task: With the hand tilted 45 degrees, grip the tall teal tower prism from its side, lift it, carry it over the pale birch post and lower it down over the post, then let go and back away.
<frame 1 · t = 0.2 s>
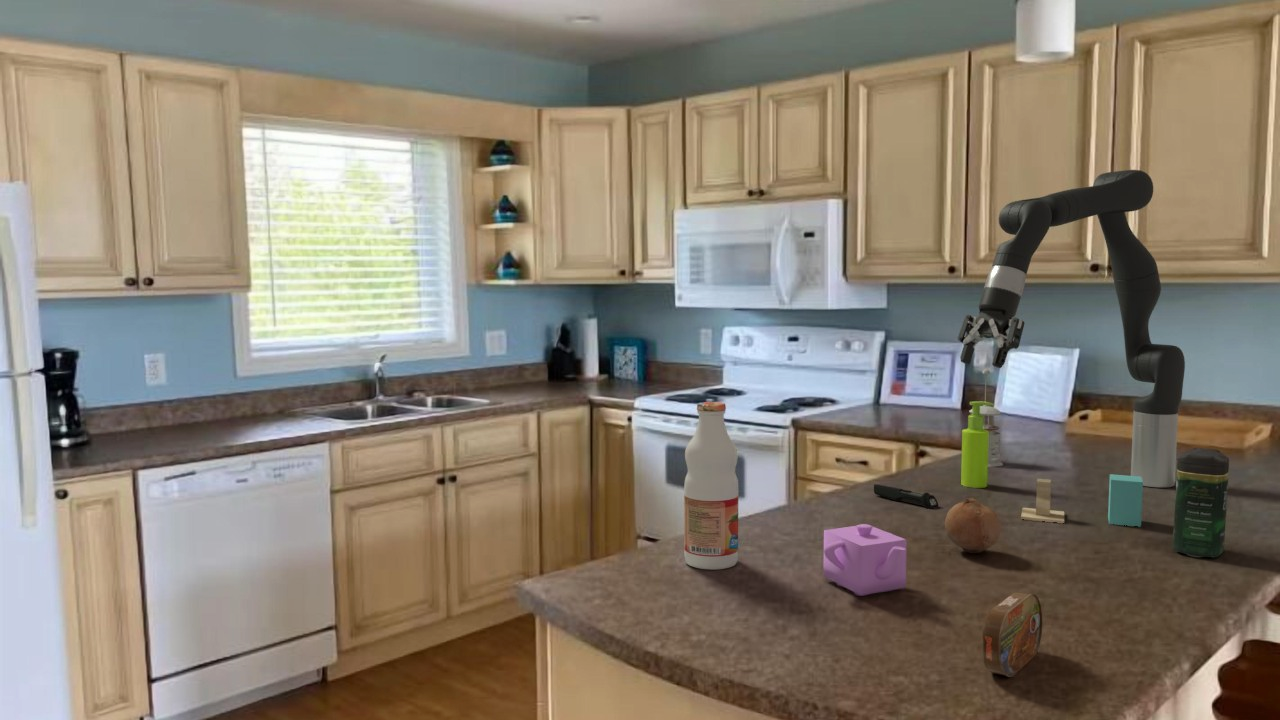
hand: (980, 364, 193), 31 cm above the worktop, tool tilted 20°, fingers open, 8 cm apart
post: (1042, 516, 191), on the worktop
soap dispenser: (976, 486, 220), on the worktop
french press: (983, 463, 246), on the worktop
teapot: (863, 590, 148), on the worktop
electric trimmer: (904, 503, 204), on the worktop
tin: (1011, 665, 119), on the worktop
fruit juice: (711, 563, 162), on the worktop
teal tower prism: (1124, 522, 186), on the worktop
coffee jar: (1198, 552, 166), on the worktop
onion: (971, 554, 166), on the worktop
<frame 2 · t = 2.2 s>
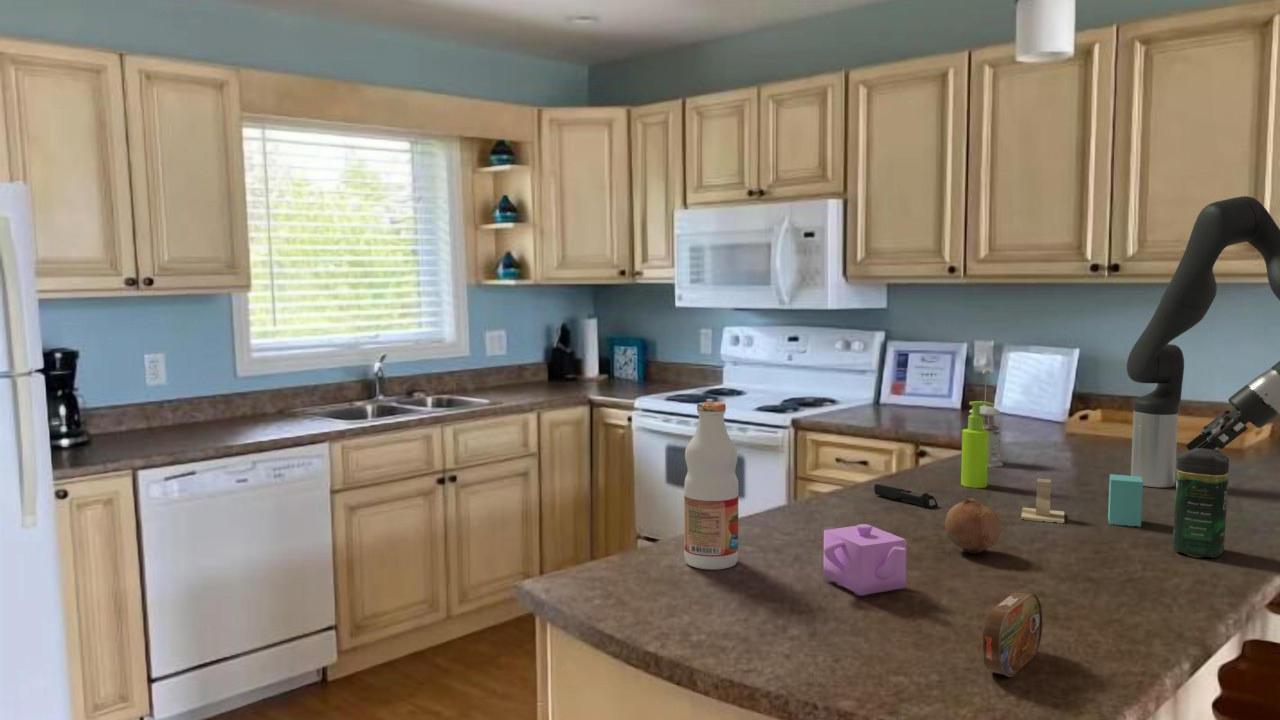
hand: (1191, 453, 180), 15 cm above the worktop, tool tilted 45°, fingers open, 8 cm apart
nothing on the worktop moved.
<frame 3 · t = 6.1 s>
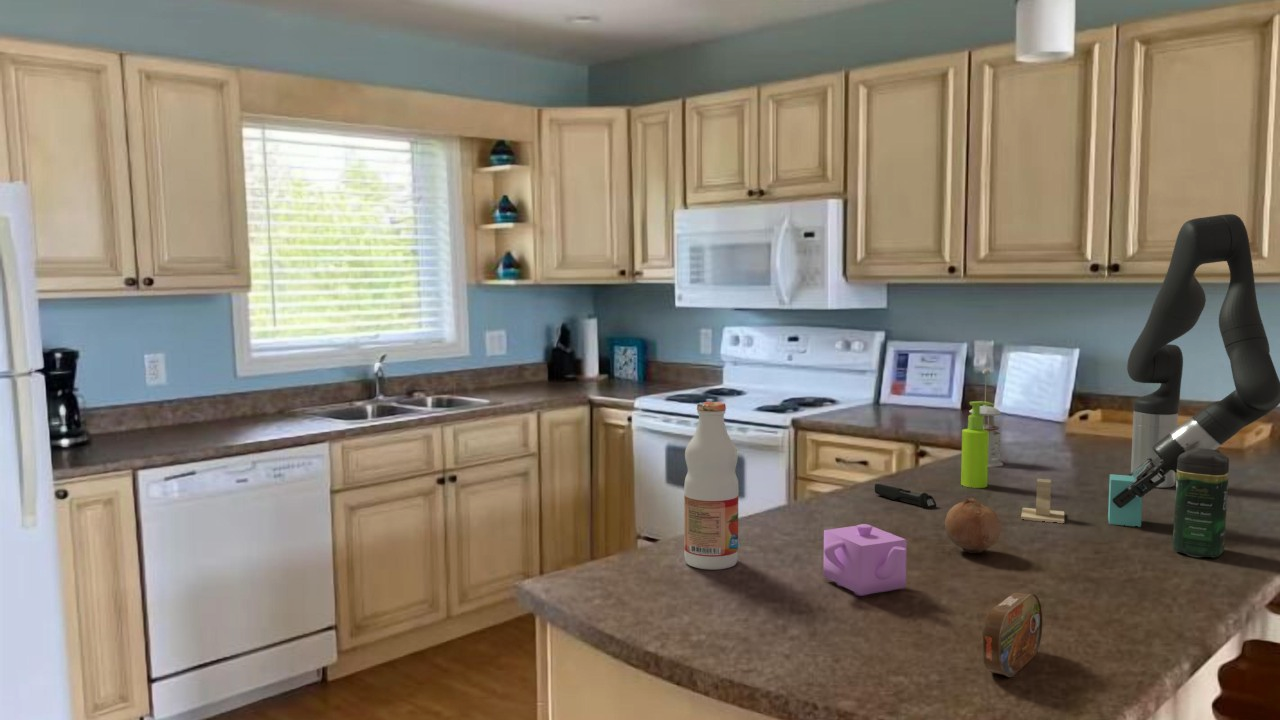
hand: (1115, 500, 187), 4 cm above the worktop, tool tilted 45°, fingers closed on teal tower prism, 5 cm apart
teal tower prism: (1124, 522, 186), on the worktop, touching gripper
everything else where it was.
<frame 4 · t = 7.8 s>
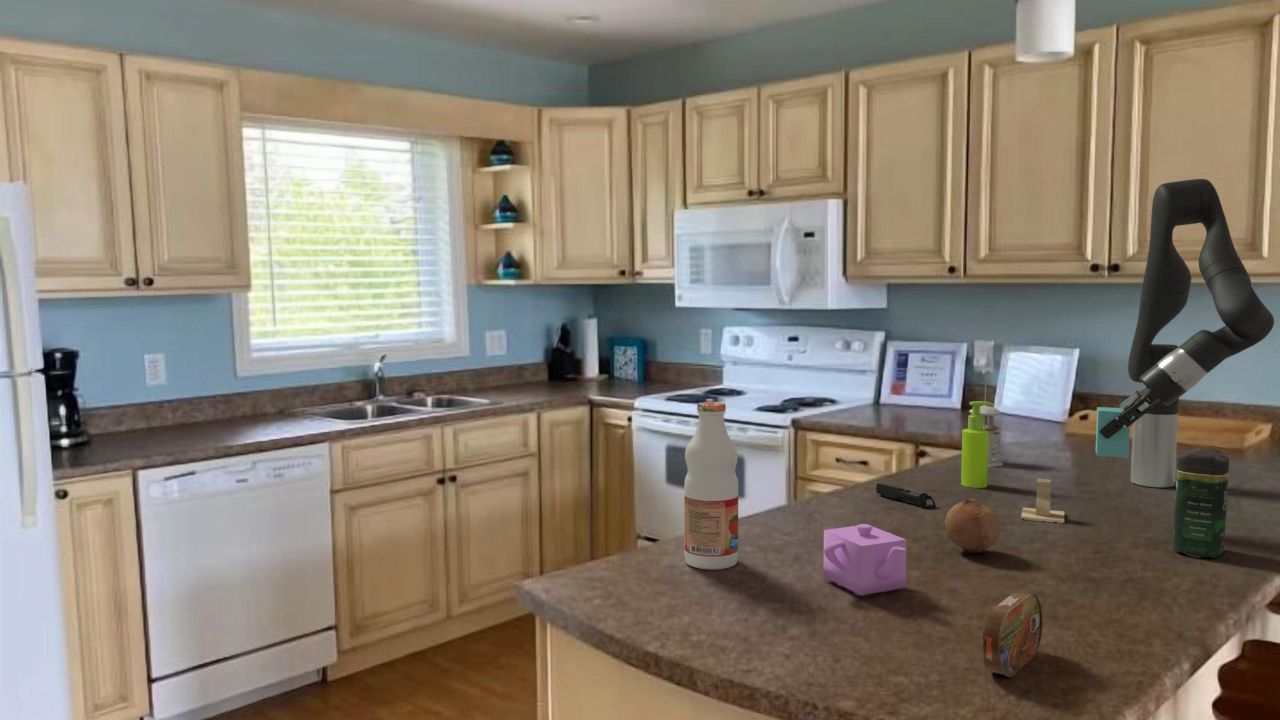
hand: (1102, 432, 186), 18 cm above the worktop, tool tilted 45°, fingers closed on teal tower prism, 5 cm apart
teal tower prism: (1111, 454, 186), point 14 cm above the worktop, touching gripper
everything else where it was.
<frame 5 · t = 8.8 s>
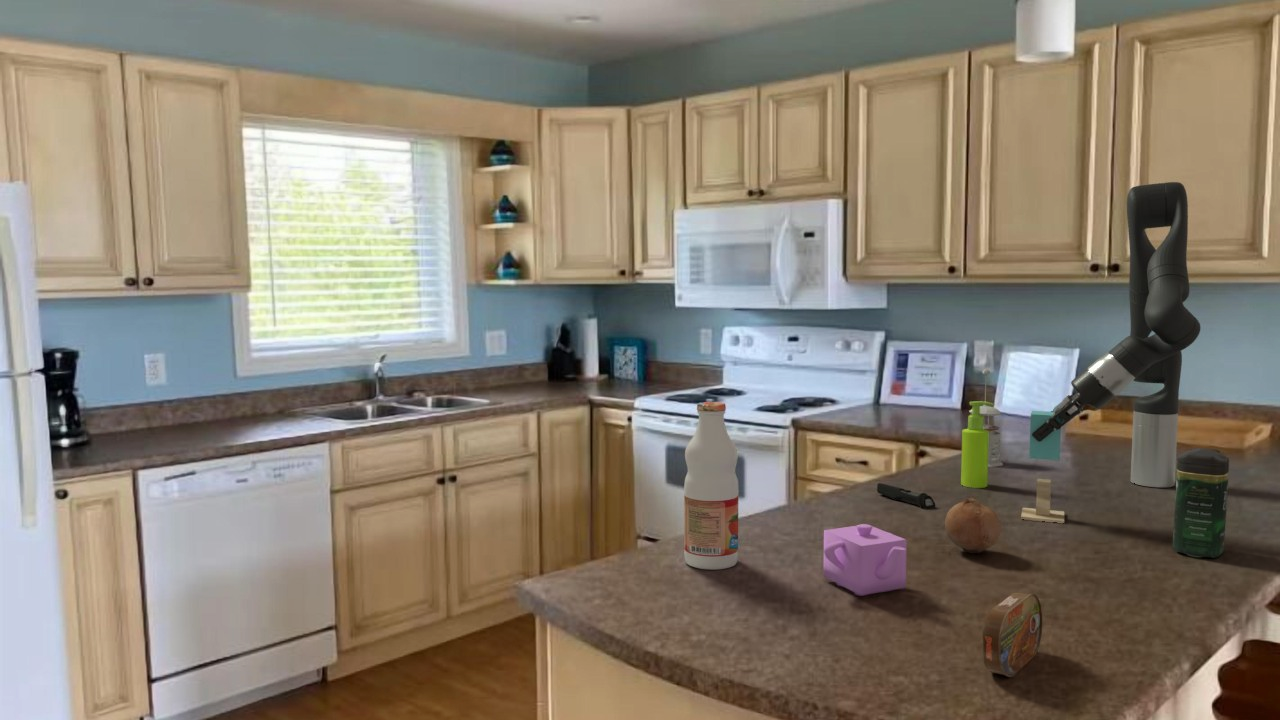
hand: (1036, 435, 190), 17 cm above the worktop, tool tilted 45°, fingers closed on teal tower prism, 5 cm apart
teal tower prism: (1044, 456, 189), point 13 cm above the worktop, touching gripper
everything else where it was.
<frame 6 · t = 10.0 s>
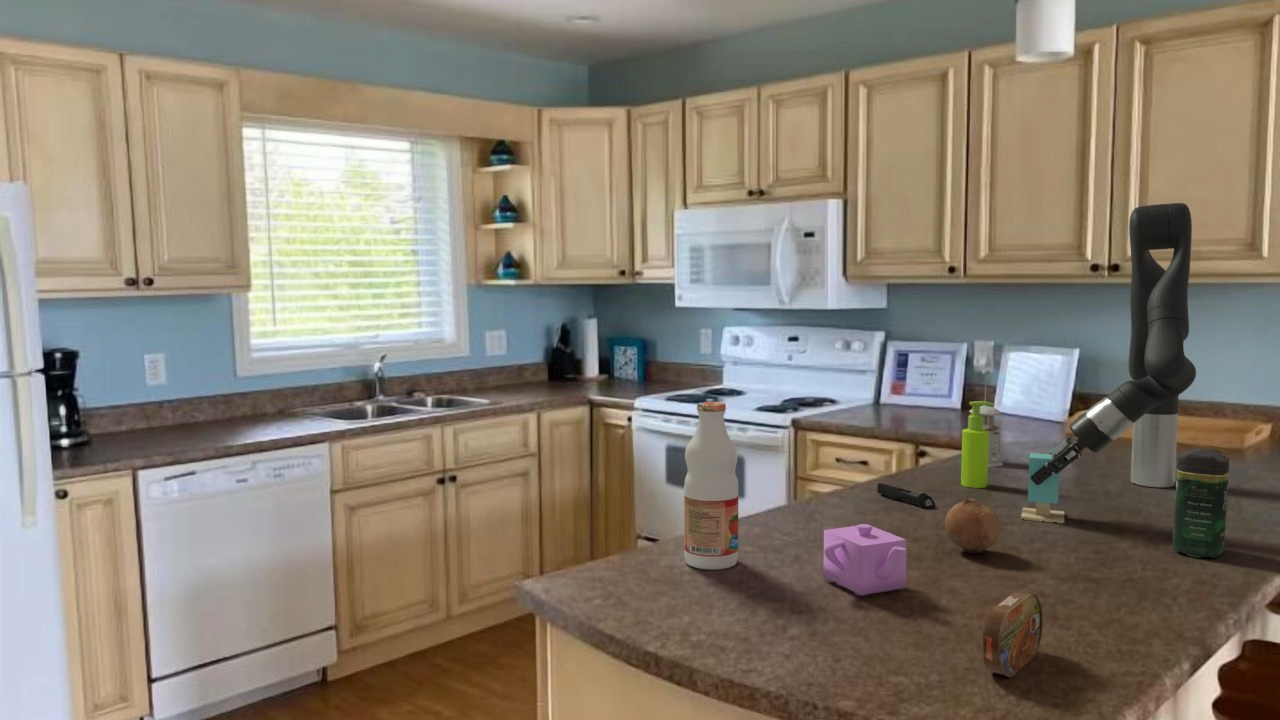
hand: (1034, 478, 191), 8 cm above the worktop, tool tilted 45°, fingers closed on teal tower prism, 5 cm apart
teal tower prism: (1043, 499, 190), point 4 cm above the worktop, touching gripper
everything else where it was.
when the fingers open (6 cm above the worktop, at t = 10.8 s): teal tower prism drops 1 cm, resting on post.
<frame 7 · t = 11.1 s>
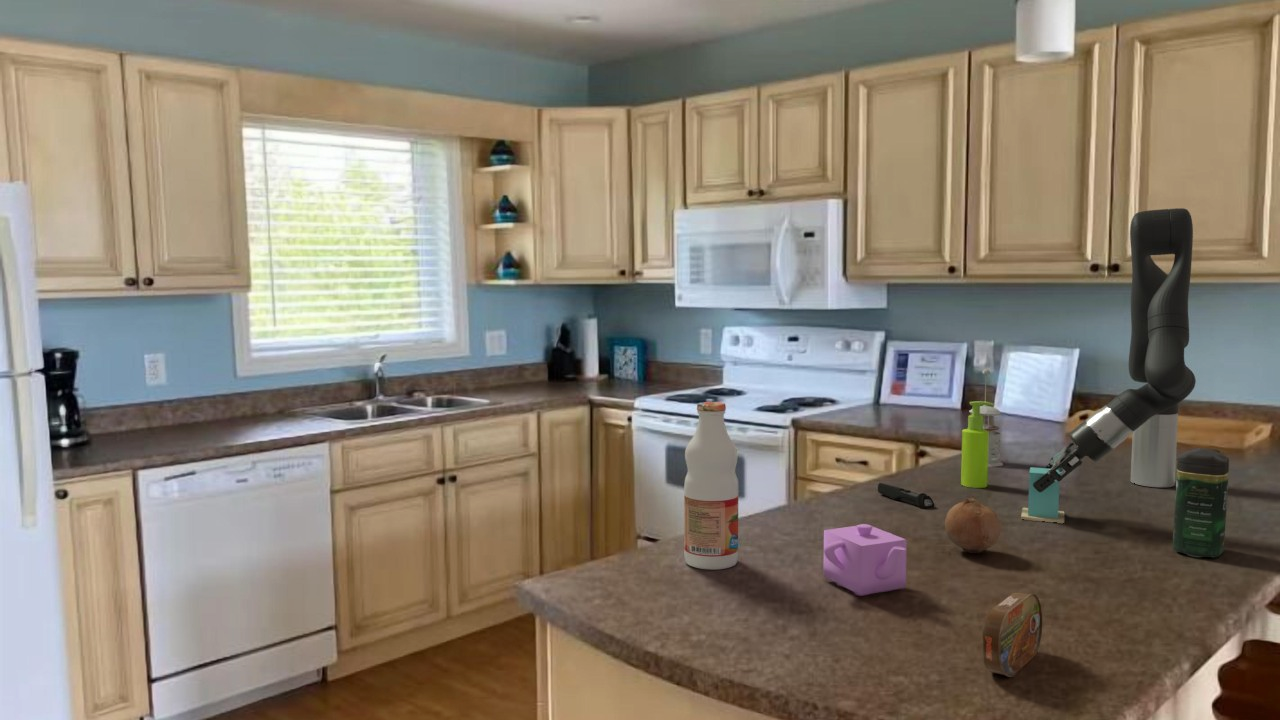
hand: (1036, 484, 191), 7 cm above the worktop, tool tilted 45°, fingers open, 8 cm apart
teal tower prism: (1043, 513, 191), point 1 cm above the worktop, touching post
everything else where it was.
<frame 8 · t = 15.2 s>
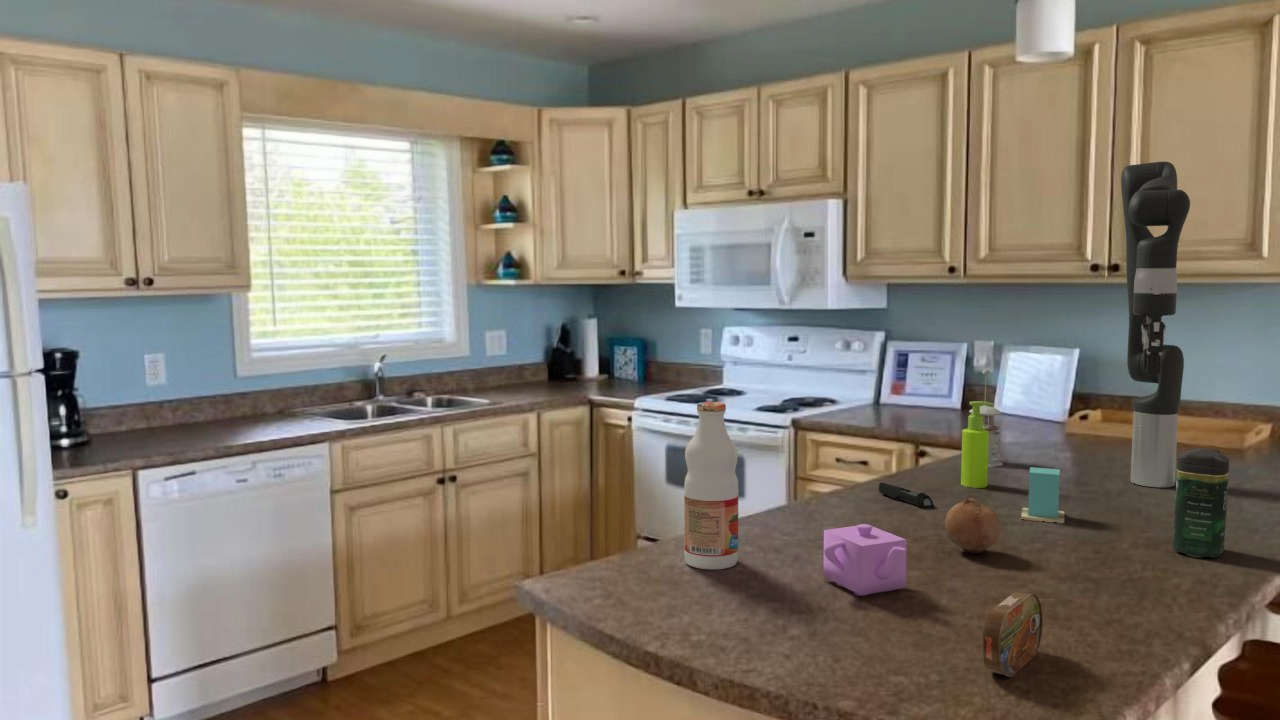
hand: (1151, 371, 186), 30 cm above the worktop, tool pointing down, fingers open, 8 cm apart
at the end: teal tower prism 0.1 cm from the post (horizontally); teal tower prism point 0.6 cm above the worktop; the gripper is holding nothing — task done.
